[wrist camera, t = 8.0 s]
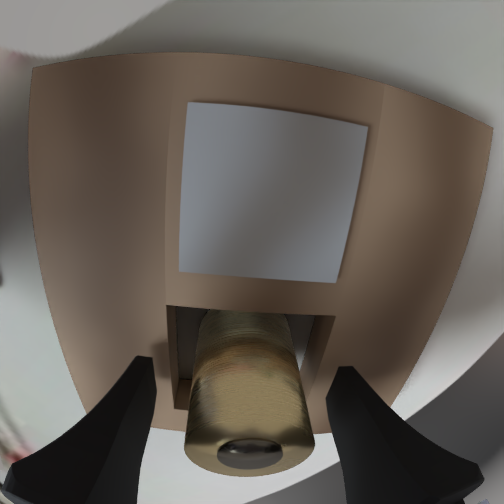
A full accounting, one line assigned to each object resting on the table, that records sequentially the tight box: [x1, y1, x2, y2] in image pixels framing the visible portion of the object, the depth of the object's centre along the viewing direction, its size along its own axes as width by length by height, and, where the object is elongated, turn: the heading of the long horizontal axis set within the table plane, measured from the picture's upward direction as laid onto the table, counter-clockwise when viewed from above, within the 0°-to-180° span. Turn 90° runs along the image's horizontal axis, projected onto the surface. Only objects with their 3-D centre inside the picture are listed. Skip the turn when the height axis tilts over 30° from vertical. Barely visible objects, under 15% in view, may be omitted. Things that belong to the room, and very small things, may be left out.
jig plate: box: [28, 52, 493, 434], centre depth 11 cm, size 16×16×2 cm
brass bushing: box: [184, 309, 315, 477], centre depth 11 cm, size 4×4×6 cm
